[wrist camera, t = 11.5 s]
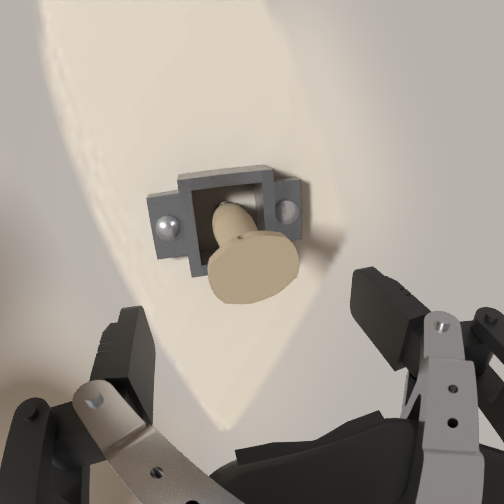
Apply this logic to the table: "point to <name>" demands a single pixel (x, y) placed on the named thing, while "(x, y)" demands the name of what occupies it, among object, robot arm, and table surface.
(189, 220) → the bracket
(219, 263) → the handle
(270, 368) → the table surface
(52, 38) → the table surface
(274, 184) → the chain end
